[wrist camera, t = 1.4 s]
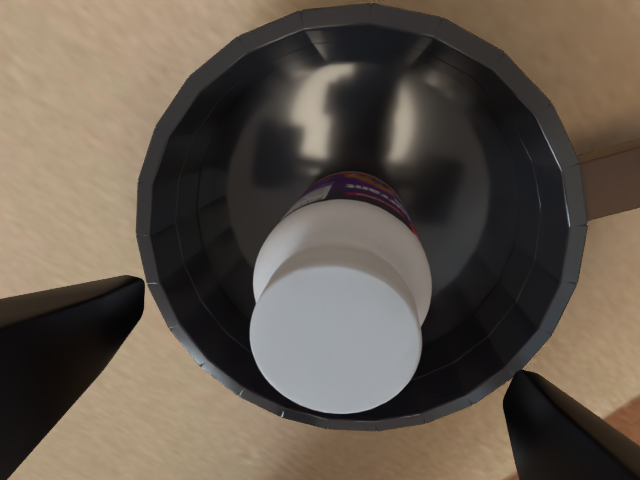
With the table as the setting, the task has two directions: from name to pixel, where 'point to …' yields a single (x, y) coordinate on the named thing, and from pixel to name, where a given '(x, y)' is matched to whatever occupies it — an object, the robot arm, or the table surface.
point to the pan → (383, 163)
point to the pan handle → (611, 179)
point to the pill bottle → (341, 297)
